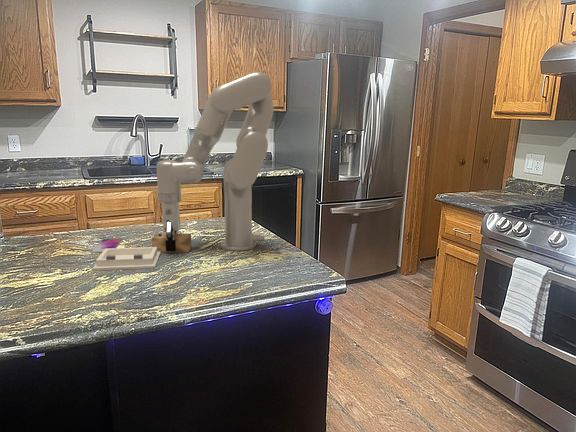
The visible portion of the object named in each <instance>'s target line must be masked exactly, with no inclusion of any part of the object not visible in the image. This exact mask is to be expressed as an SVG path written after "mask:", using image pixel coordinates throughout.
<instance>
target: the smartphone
mask: <svg viewBox="0 0 576 432" xmlns="http://www.w3.org/2000/svg"><path fill="white" fill-rule="evenodd" d="M122 242H123V239H122V238H108V239H106V238H104V239H102V240H101V241H99V242H98V244H96V245H95V247H93V248H92V250H90V254H101V253H102V252H103V251H104V250H105V249H106V248H118V246H119V245H120V244H121V243H122Z"/></svg>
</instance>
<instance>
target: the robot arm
mask: <svg viewBox="0 0 576 432" xmlns="http://www.w3.org/2000/svg"><path fill="white" fill-rule="evenodd" d="M271 90H272V81H271V79H270V77H269V76H268V75H267V74H266V73H264V72H262V71H261V72H260V71H254V72H251V73H249V74H247V75H245V76H242V77H240V78H237V79H235V80H232V81H230V82H227V83H224V84H221V85H219V86H217V87H214V88H213V90H212V91H211V93H210V95H209V97H208V99H207V102H206V104H205V107H204V108H203V111H202V113H201V115H200V118H199V121H198V123H197V125H196V127H195V130H194V132H193V135H192V139H191V140H190V143H189V145H188V148H187V150H186V152H185V155H184V156H183V159H182V161H181V162H179V161H177V160H173V159H172V160H170V159H165V160H160V161H157V163H156V181H157V202H158V203H159V204H161V211H162V212H161V214H162V216H161V217H162V227H163V232H164V233H166V251H167V252H166V253H169V252H168V251H176V242H175V240H174V239H175V233H179V231H180V227H181V217H180V215H181V214H180V203H181V202H182V188H181V187H182V186H181V185H182V184H181V183H184V184H197V183H199V182H200V181H201V180H202V179H203V178H204V166H205V164H206V162H207V160H208V157H209V155H210V153H211V151H212V149H213V148H214V147H215V145H216V144H217V143H218V142H219V141H220V139H221V138H222V135H223V133H224V131H225V129H226V126H227V123H228V122H229V118H230V117H231V115H232V112H235V111H238V110H239V109H240V110H241V109H242V108H245V107H247V106H248V109H247V113H246V115H245V119H244V121H243V124H242V126H241V129H240V131H239V133H238V135H237V137H236V141H235V144H236V150H235V153H234V155H233V158H230V159H229V160H228V161H227V162H226V163H225V165H224V166H223V170H222V171H223V174H222V175H223V192H224V194H223V196H224V235H225V236H224V239H223V240H222V241H221V242H220V247H221V248H222V249H224V250H227V251H233V252H234V251H236V252H240V251H248V250H251V249H254V248H255V247H256V246H257V242H265V235H261V234H254V233H253V231H252V229H253V228H252V227H253V225H252V220H253V219H252V216H253V215H252V212H253V211H252V203H253V201H252V199H253V197H252V196H253V192H252V186H253V184H254V183H255V181H256V180H257V178H258V175H259V174H260V173H259V172H260V170H261V168H262V165H263V163H264V160H265V158H266V156H267V153H268V149H269V141H268V138H267V133H268V130H269V128H270V125H271V122H272V120H273V119H272V118H273V115H274V109H275V108H274V106H275V105H274V100H273V96H272V93H271ZM171 233H173V235H172V234H171Z"/></svg>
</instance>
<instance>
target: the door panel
mask: <svg viewBox="0 0 576 432" xmlns="http://www.w3.org/2000/svg"><path fill="white" fill-rule="evenodd" d="M171 234H172V235H173V233H171ZM174 240H175V242H176V251H168V252H167V251H166V232H164V233H163V232H161V233H160V232H156V233H155V234H154V236H152V237H151V244H152V245H151V247H157V251H161V253H189V252H190V250H191V248H192V233H183V232H182V233H181V232H180V233H179V232H177V233H175V239H174Z"/></svg>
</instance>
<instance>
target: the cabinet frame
mask: <svg viewBox="0 0 576 432" xmlns="http://www.w3.org/2000/svg"><path fill="white" fill-rule="evenodd" d="M161 254H162V252H161V251H157V247H152V246H148V247H147V246H146V247H144V246H142V247H117V248H106V249H105V250H104V251H103V252H102V253H100V255H99V256H98V257H97V258H96V259H95V265H93V267H92V272H94V271H95V272H96V271H98V272H99V271H120V270H121V271H122V270H147V269H149V270H150V269H151V270H152V269H156V266H157V264H158V262H159V259H160V256H161Z"/></svg>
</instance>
